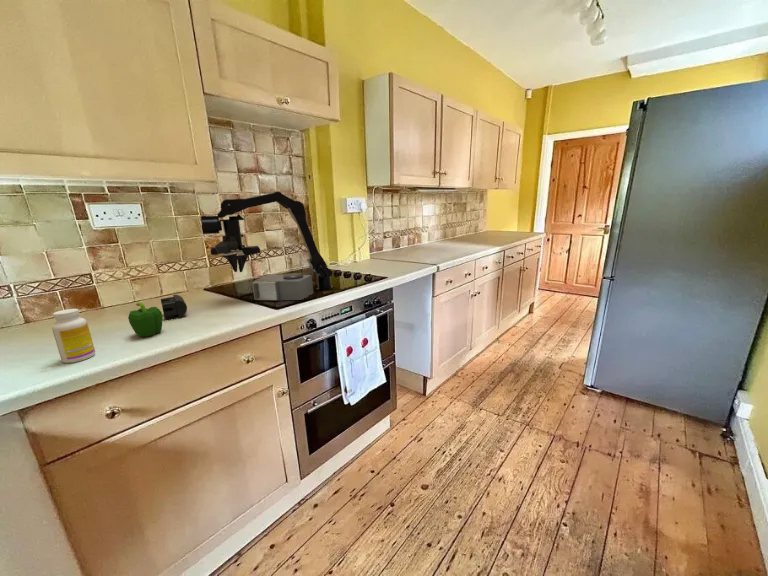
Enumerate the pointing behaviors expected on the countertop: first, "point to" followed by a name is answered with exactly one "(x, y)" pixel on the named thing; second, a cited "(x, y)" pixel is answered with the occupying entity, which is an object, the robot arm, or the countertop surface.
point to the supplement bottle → (72, 336)
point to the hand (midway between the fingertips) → (238, 271)
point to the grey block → (292, 285)
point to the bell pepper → (146, 320)
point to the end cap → (173, 307)
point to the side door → (265, 290)
